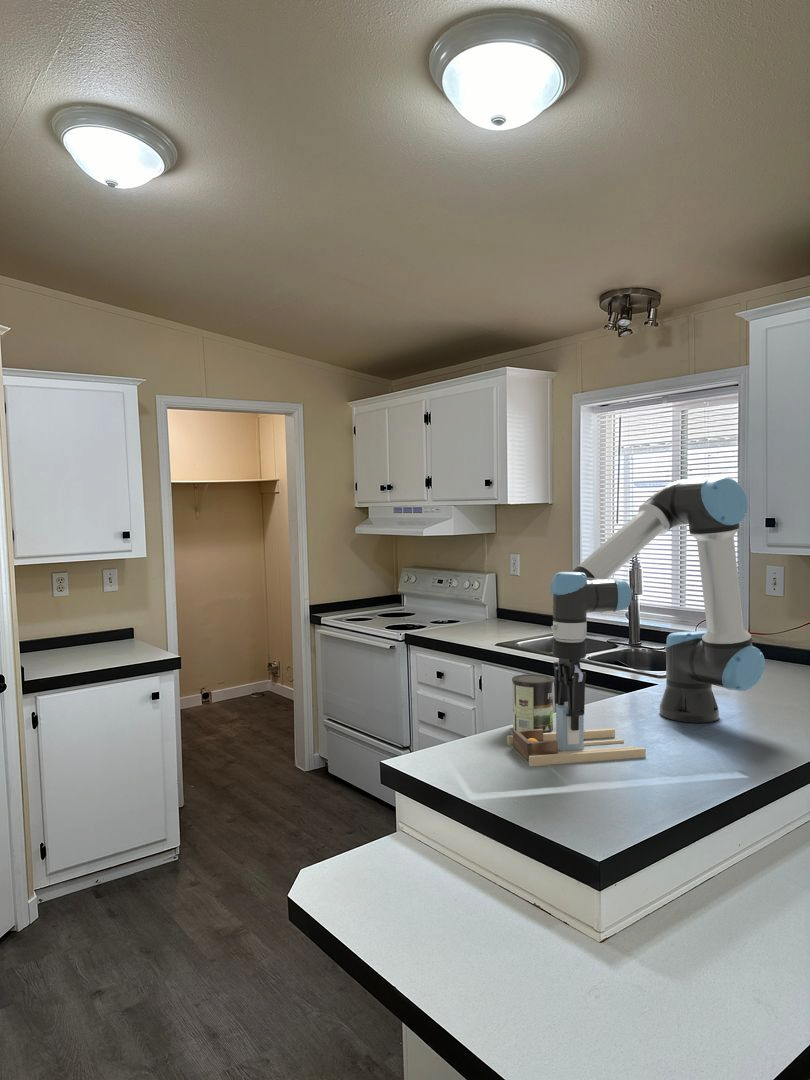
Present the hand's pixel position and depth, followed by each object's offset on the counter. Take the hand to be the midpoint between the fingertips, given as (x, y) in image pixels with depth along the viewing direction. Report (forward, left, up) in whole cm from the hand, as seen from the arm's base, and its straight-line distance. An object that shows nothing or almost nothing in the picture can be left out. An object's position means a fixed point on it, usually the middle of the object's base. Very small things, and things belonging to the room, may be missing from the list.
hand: (568, 740), depth 168 cm
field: (-1, 0, -4) cm, 4 cm away
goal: (+8, 0, -3) cm, 9 cm away
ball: (+9, 0, -1) cm, 9 cm away
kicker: (0, 0, -2) cm, 2 cm away
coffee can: (+2, -18, -4) cm, 19 cm away
